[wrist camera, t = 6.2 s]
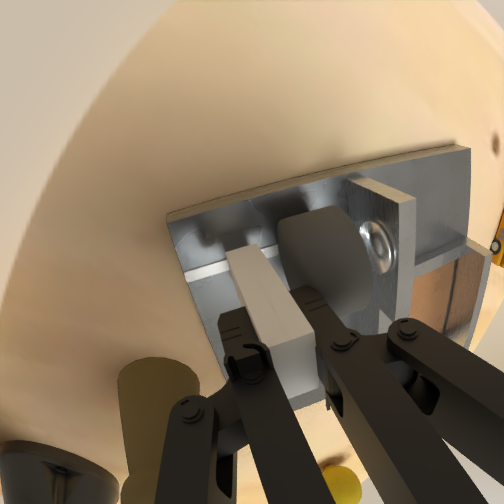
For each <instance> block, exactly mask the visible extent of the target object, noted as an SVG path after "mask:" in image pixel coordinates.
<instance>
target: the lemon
mask: <svg viewBox="0 0 504 504" xmlns="http://www.w3.org/2000/svg"><path fill="white" fill-rule="evenodd" d="M322 475H323V477H324V479H325V481H326V483H327V486H328V488H329V490H330V492H331V494H332V496H333V498H334V500H335V502H336V504H358V503H359V501H360V499H361V496H362V489H361V484H360V481H359V479H358V477H357V476H356V474H355V473H354V472H353V471H352V470H350V469H349V468H347V467H344V466H332V465H327V466H326V467H325V469H324V471H323V472H322Z"/></svg>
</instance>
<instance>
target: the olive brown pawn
mask: <svg viewBox="0 0 504 504" xmlns="http://www.w3.org/2000/svg"><path fill="white" fill-rule="evenodd" d="M117 383H118V395H119V405H120V414H121V423H122V431H123V438H124V445H125V452H126V458H127V464H128V469H129V475H130V476H129V477H128V478H127V479H126V480H125V482H124V484H123V487H122V491H121V504H154V501H155V495H156V488H157V482H158V476H159V470H160V464H161V458H162V453H163V447H164V442H165V436H166V431H167V425H168V420H169V415H170V412H171V410H172V407H173V406H174V405H175V404H176V403H177V402H178V401H179V400H181V399H183V398H184V397H187V396H191V395H200V382H199V380H198V378H197V375H196V374H195V373H194V372H193V371H192V370H191V369H190V368H189V367H188V366H186V365H184V364H182V363H180V362H178V361H175V360H171V359H167V358H145V359H141V360H136V361H135V362H133V363H131V364H129V365H127V366H126V367H125V368H124V369H123V370H122V371H121V372H120V374H119V378H118V381H117Z"/></svg>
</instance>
